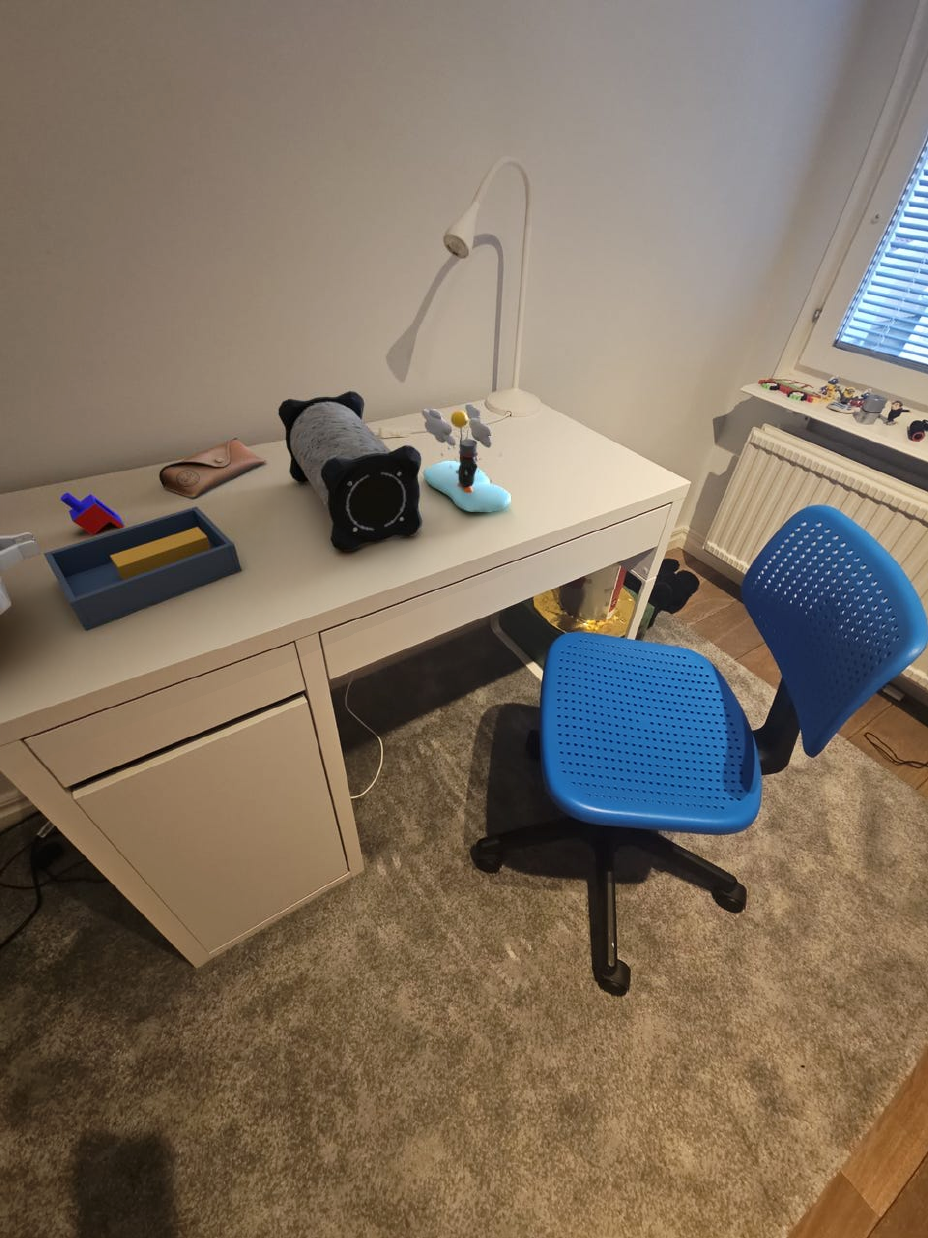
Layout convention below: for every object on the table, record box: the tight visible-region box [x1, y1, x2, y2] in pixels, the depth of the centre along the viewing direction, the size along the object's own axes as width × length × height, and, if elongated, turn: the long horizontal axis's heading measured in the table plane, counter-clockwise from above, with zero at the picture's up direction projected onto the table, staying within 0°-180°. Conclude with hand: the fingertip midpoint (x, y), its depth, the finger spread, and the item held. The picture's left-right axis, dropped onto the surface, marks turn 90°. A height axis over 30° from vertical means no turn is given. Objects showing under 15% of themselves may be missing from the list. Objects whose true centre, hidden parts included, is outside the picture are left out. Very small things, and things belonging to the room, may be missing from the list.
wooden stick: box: [110, 527, 211, 580], centre depth 77 cm, size 4×4×12 cm
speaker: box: [278, 390, 423, 552], centre depth 89 cm, size 15×28×15 cm, turn 28°
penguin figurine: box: [421, 403, 512, 513], centre depth 94 cm, size 20×11×15 cm, turn 30°
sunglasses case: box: [158, 437, 267, 499], centre depth 100 cm, size 18×7×7 cm
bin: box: [43, 506, 242, 631], centre depth 76 cm, size 21×14×5 cm, turn 132°
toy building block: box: [59, 492, 124, 536], centre depth 84 cm, size 4×4×8 cm
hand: (36, 542), depth 65 cm, fingers closed
